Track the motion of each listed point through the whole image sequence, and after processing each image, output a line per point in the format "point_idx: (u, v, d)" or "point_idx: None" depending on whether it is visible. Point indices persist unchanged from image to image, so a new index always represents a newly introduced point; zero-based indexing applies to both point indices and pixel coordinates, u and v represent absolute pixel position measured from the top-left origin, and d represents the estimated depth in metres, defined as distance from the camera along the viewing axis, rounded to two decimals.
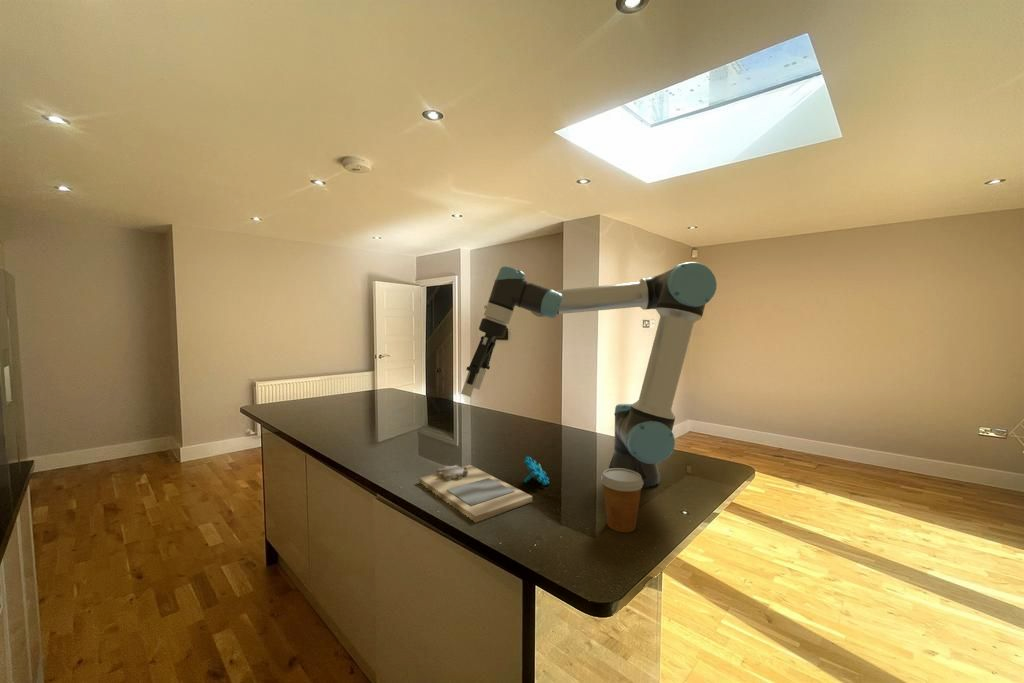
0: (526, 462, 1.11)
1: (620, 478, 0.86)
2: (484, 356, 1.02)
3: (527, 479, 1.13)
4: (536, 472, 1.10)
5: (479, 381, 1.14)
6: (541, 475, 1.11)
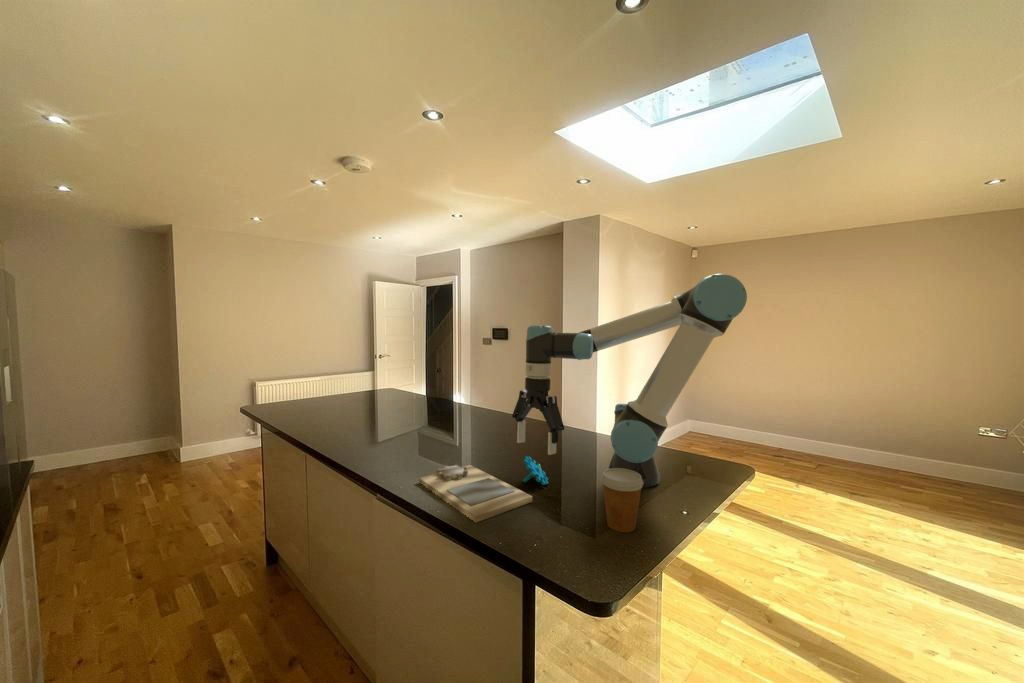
0: (525, 462, 1.11)
1: (620, 478, 0.86)
2: (551, 412, 1.10)
3: (526, 479, 1.13)
4: (535, 472, 1.10)
5: (523, 434, 1.19)
6: (540, 475, 1.11)
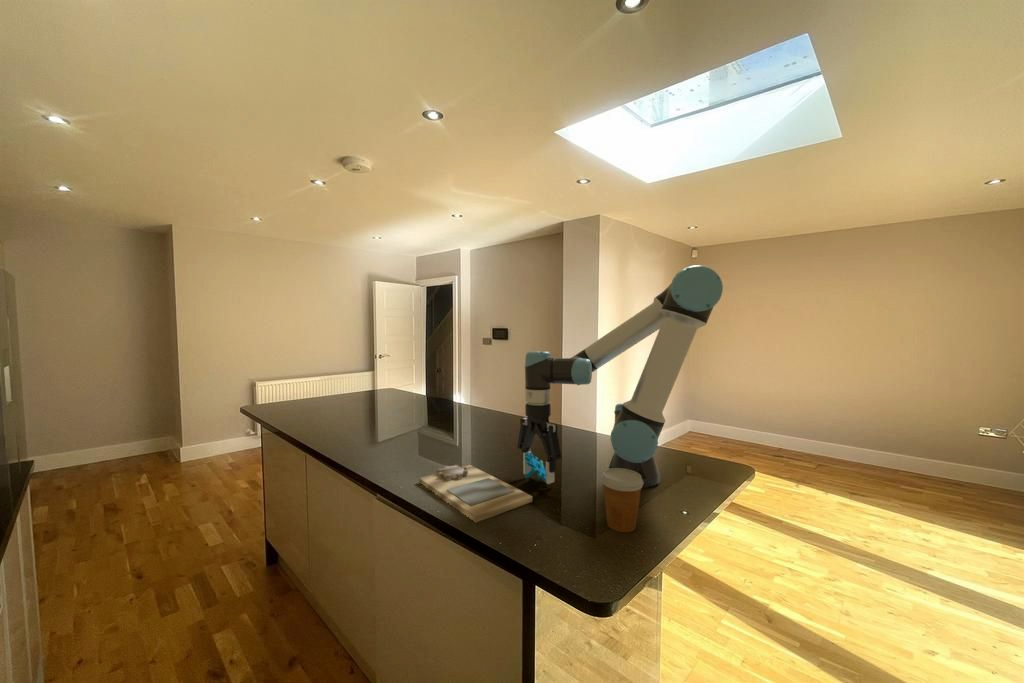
0: (526, 458, 1.11)
1: (620, 478, 0.87)
2: None
3: (528, 475, 1.13)
4: (536, 468, 1.10)
5: None
6: (542, 471, 1.11)
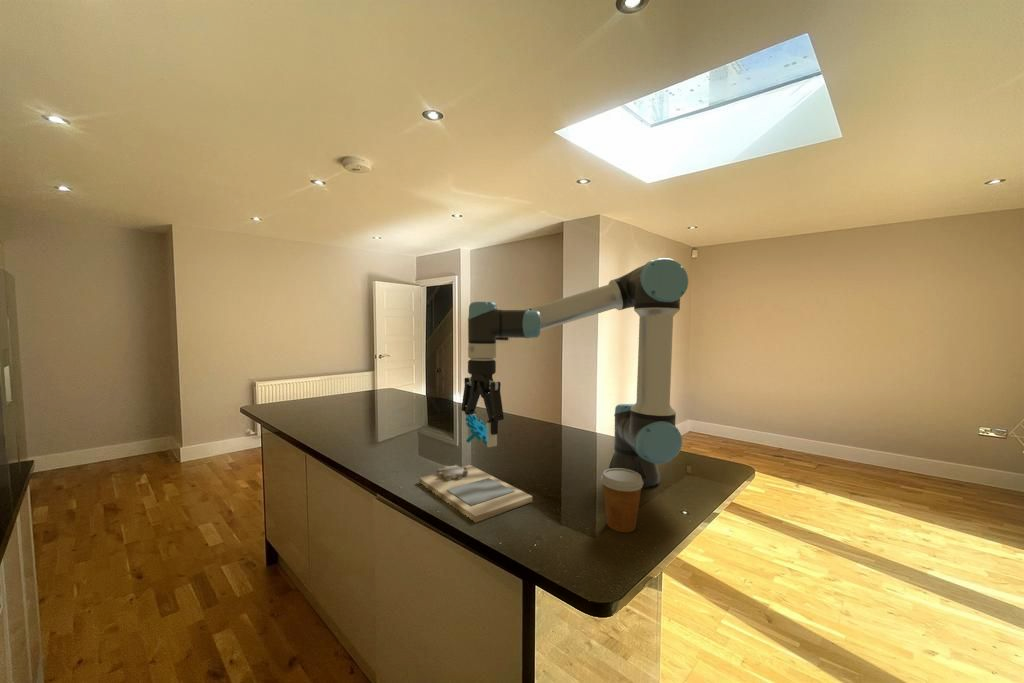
0: (467, 419, 1.01)
1: (620, 478, 0.86)
2: None
3: (469, 438, 1.02)
4: (477, 430, 0.99)
5: None
6: (483, 434, 1.01)
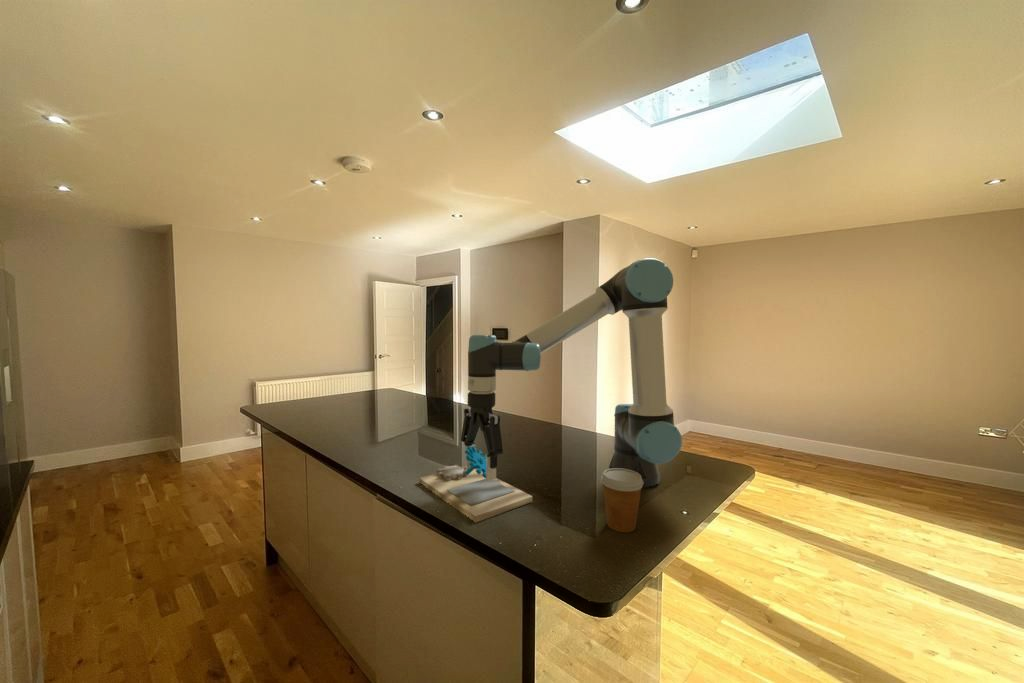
0: (466, 452, 1.01)
1: (620, 478, 0.86)
2: None
3: (469, 471, 1.02)
4: (476, 463, 0.99)
5: None
6: (483, 467, 1.01)
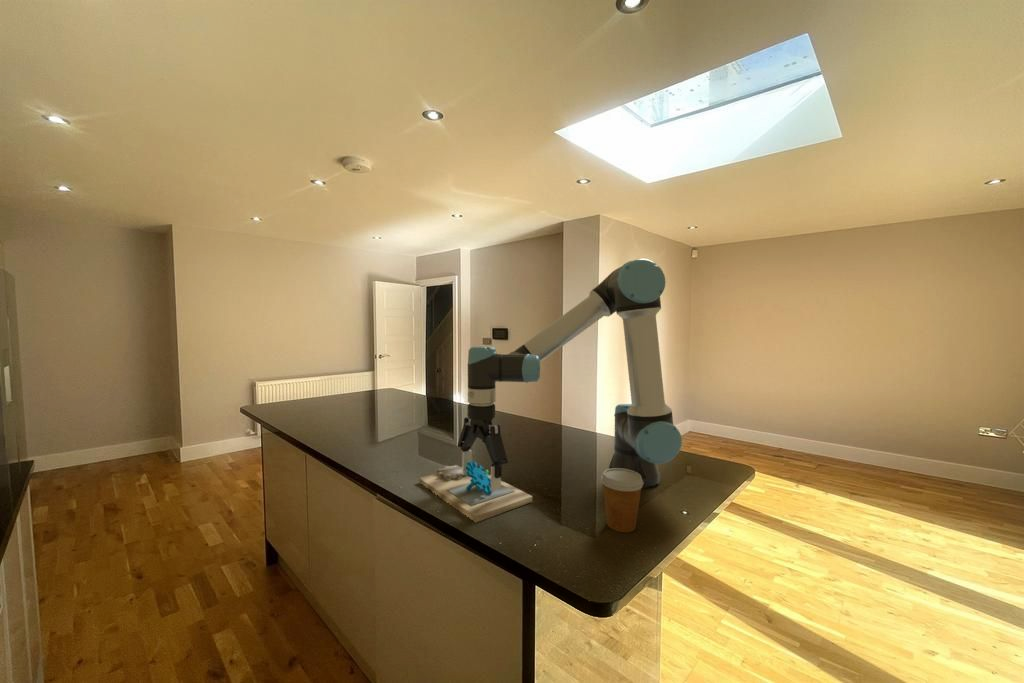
0: (467, 468, 1.01)
1: (620, 478, 0.87)
2: None
3: (469, 486, 1.02)
4: (477, 479, 0.99)
5: None
6: (483, 483, 1.01)
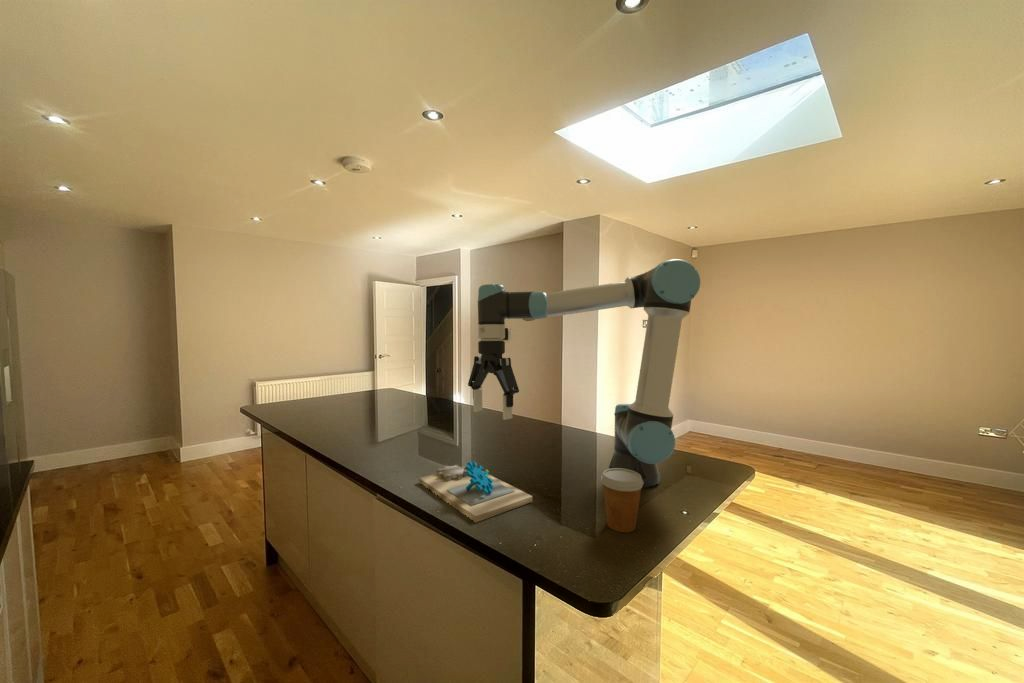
0: (466, 468, 1.01)
1: (620, 478, 0.86)
2: None
3: (469, 486, 1.03)
4: (476, 479, 0.99)
5: (480, 403, 1.12)
6: (483, 482, 1.01)
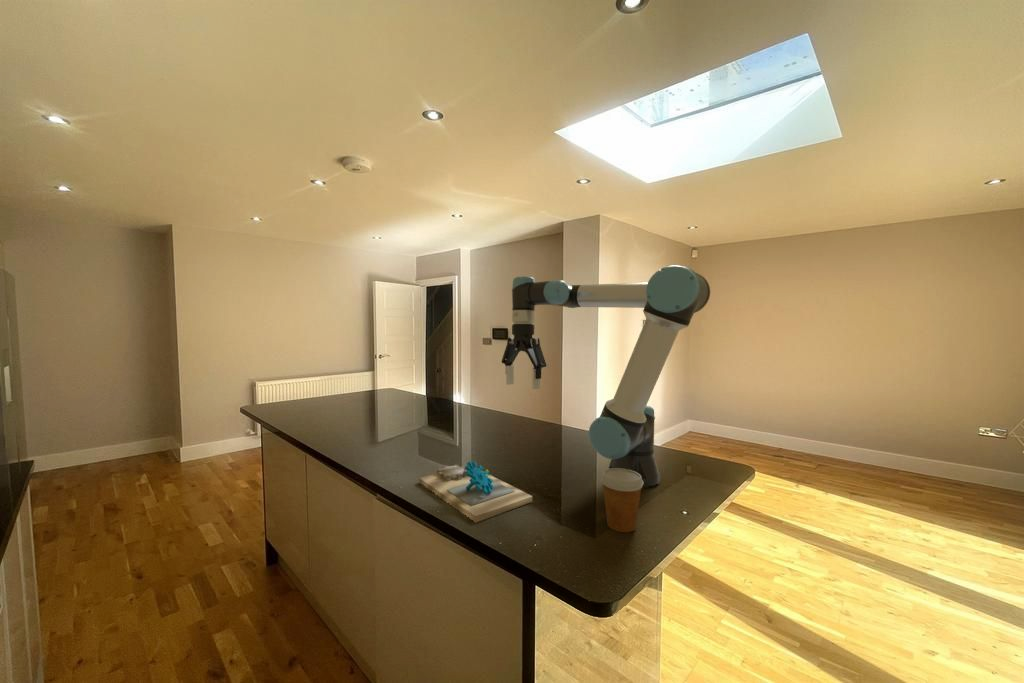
0: (466, 467, 1.01)
1: (620, 478, 0.86)
2: (535, 353, 1.24)
3: (469, 486, 1.03)
4: (476, 479, 1.00)
5: (511, 377, 1.33)
6: (483, 482, 1.01)
